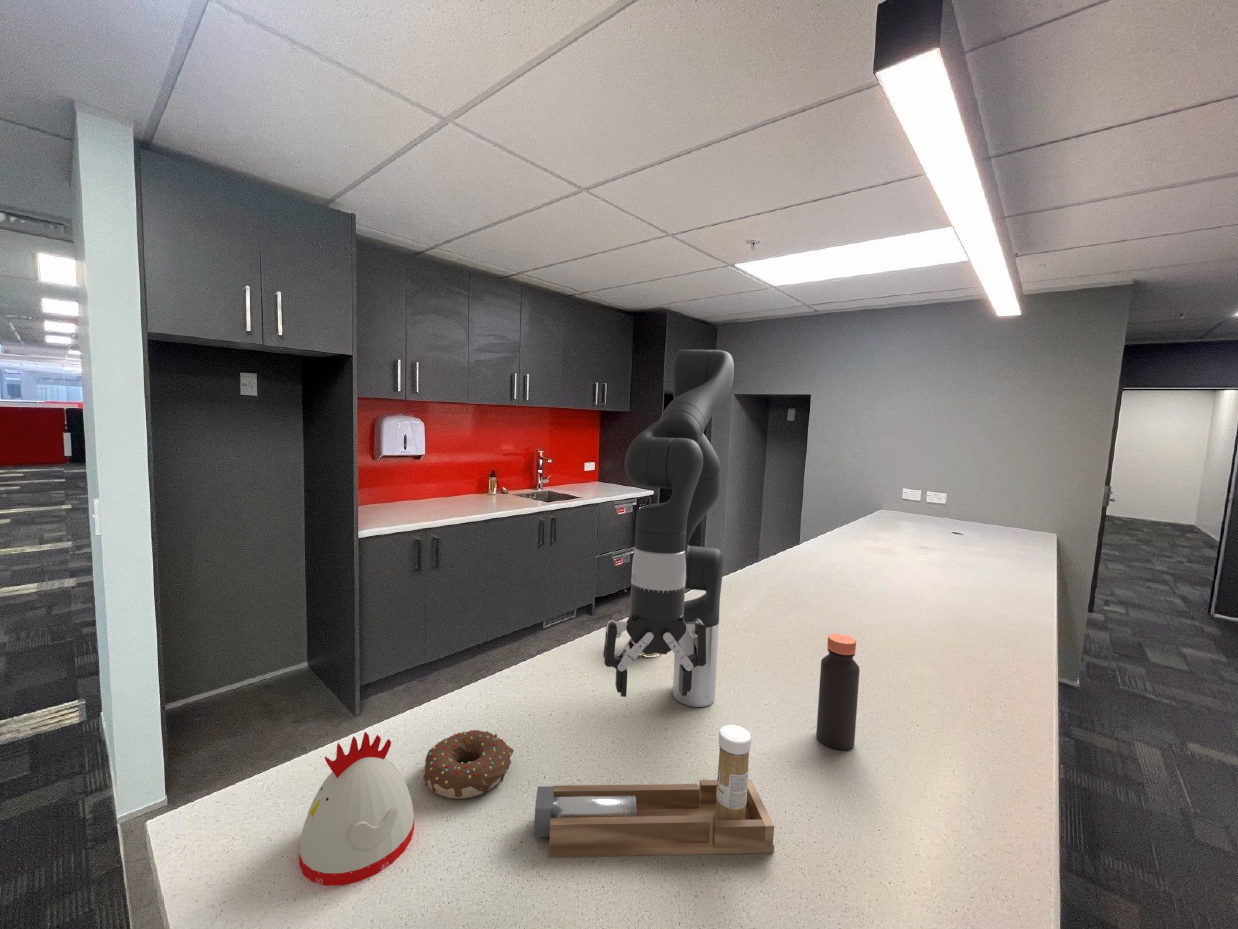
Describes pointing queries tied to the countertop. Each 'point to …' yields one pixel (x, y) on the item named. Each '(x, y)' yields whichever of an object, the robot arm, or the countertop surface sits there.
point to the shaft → (578, 808)
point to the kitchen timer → (356, 817)
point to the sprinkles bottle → (732, 773)
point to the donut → (466, 764)
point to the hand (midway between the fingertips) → (652, 693)
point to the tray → (662, 823)
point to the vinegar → (838, 694)
